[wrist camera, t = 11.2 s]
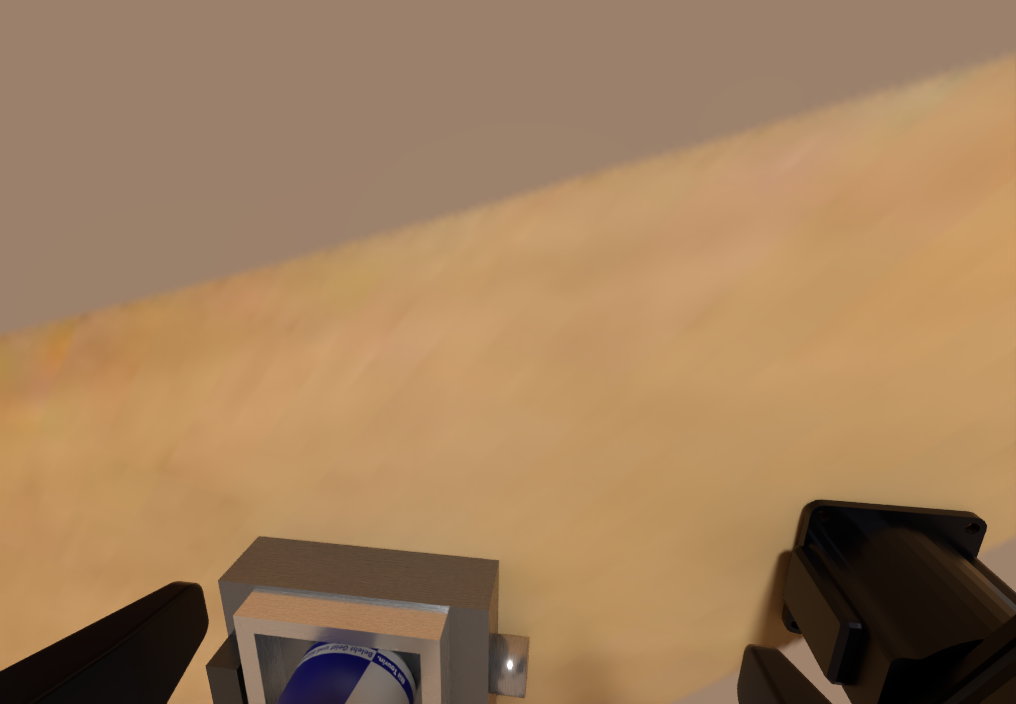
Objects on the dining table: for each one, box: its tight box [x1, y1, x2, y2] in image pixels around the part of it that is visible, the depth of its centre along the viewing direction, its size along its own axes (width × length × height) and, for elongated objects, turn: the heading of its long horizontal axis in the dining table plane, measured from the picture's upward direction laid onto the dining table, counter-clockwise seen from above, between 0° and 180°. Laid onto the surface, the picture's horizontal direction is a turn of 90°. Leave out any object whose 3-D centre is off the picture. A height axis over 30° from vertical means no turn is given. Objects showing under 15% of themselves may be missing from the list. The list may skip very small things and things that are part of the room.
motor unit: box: [206, 537, 529, 704], centre depth 23 cm, size 14×9×5 cm, turn 89°
